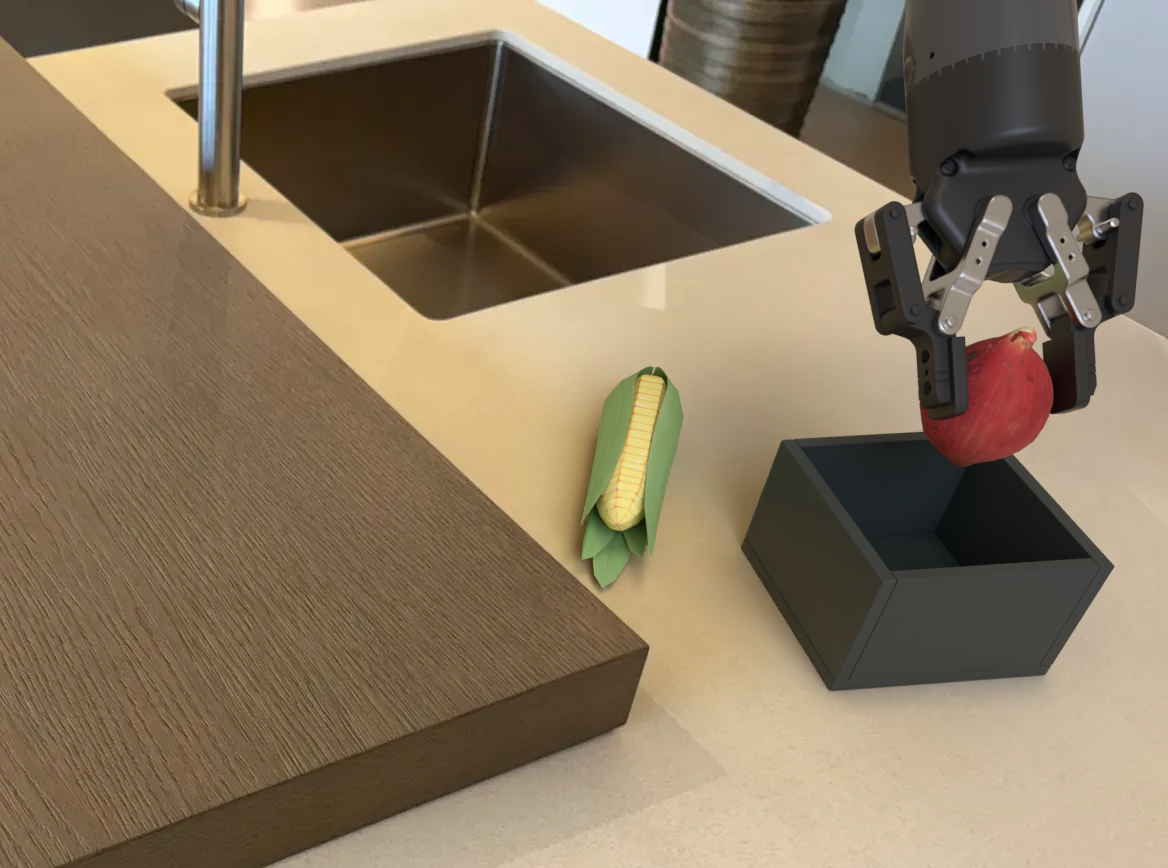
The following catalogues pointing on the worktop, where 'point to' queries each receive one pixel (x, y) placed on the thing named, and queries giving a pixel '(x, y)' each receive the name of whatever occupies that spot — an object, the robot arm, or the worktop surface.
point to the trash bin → (918, 562)
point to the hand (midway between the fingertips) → (1009, 412)
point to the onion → (996, 401)
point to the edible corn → (630, 470)
